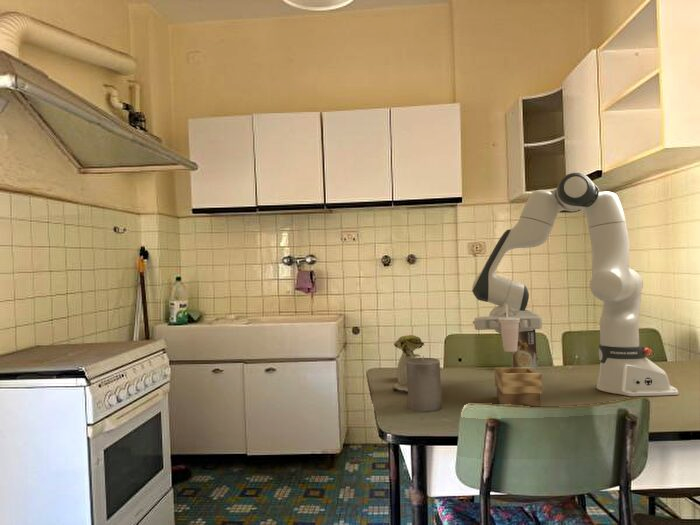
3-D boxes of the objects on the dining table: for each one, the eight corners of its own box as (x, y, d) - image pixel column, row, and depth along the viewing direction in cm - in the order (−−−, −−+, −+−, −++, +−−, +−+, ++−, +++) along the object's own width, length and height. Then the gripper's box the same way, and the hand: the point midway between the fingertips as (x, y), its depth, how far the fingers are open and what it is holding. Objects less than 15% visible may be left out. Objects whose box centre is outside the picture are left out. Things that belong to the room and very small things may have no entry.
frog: (412, 396, 163) (410, 338, 164) (385, 390, 174) (384, 335, 174) (438, 391, 170) (436, 335, 171) (411, 385, 181) (409, 332, 181)
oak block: (531, 385, 159) (531, 367, 159) (542, 393, 148) (541, 374, 148) (495, 385, 160) (494, 367, 160) (502, 393, 149) (502, 374, 149)
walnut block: (534, 398, 158) (533, 385, 158) (540, 408, 147) (540, 394, 147) (496, 398, 160) (496, 385, 160) (500, 407, 149) (500, 393, 149)
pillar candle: (423, 401, 157) (421, 352, 157) (449, 407, 149) (446, 355, 149) (401, 408, 150) (398, 356, 150) (426, 414, 143) (424, 360, 143)
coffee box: (535, 368, 204) (534, 327, 204) (537, 371, 198) (536, 329, 198) (511, 368, 206) (510, 328, 206) (512, 371, 200) (511, 329, 200)
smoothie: (498, 349, 160) (496, 303, 160) (520, 349, 158) (518, 303, 159) (500, 352, 154) (498, 305, 154) (522, 352, 152) (520, 304, 153)
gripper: (471, 312, 171) (473, 315, 157) (536, 310, 167) (544, 313, 154) (472, 331, 171) (474, 336, 157) (537, 330, 167) (545, 335, 153)
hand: (509, 325), depth 155 cm, fingers closed on smoothie, 6 cm apart
